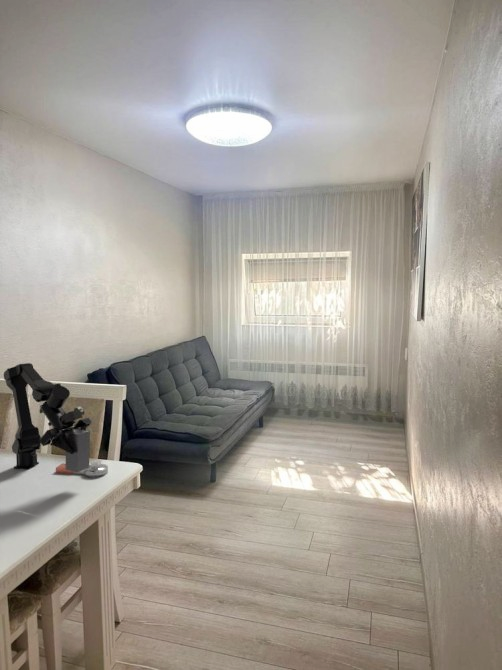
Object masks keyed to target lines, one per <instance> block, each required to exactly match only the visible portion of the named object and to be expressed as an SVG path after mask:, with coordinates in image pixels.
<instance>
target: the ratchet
mask: <svg viewBox="0 0 502 670" xmlns="http://www.w3.org/2000/svg"><path fill="white" fill-rule="evenodd" d="M65 467H66V463H64V462H63V463H61V464H59V465H58V466H56V467H55V473H58V474H71V475H73V474H75V475H83V476H84V477H86V478H91V479H92V478H94V479H95V478H101V477H104V476H106V475H107V474H108V472H109V469H108V468H109V467H108V465H107V464H104V463H102V460H99V459H95V460H92V461H91V462H90V464H89V468H87V469H84V470H82V471H80V472H74V471H69V470H65Z"/></svg>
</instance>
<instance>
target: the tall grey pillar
mask: <svg viewBox="0 0 502 670" xmlns="http://www.w3.org/2000/svg"><path fill="white" fill-rule="evenodd" d="M66 439H67V441H68V442H69V444H70V445H71V447H72V448H73V450H74V453H73V454H70V453H68V452H67V451H65V464H66V467H65V470H69V471H74V472H80V471H82V470H84V469H87V468H89V465H90V452H91V451H90V449H91V447H90V446H91V443H90V442H91V440H90V439H91V430H88V429H86V430H83V429H75V430H72V431H69V432H66Z"/></svg>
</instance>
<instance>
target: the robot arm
mask: <svg viewBox="0 0 502 670" xmlns="http://www.w3.org/2000/svg"><path fill="white" fill-rule="evenodd" d="M3 379H4V380H5V383H6V386H7V387H8V389H10V390H11V392H12V396H13V403H14V407H15V413H16V420H17V424H18V425H17V426H18V428H17V431H16V433H15V436H14V437H15V439H14V442H13V444H12V445H11V451H12V453H14V454H15V455H16V457H15V458H16V459H15V460H16V465H15V466H13V469H17V470H19V469H20V470H30V469H32V468H34V467H35V466H37V465H38V464H39V463H40V462H39V461H38V454H37V450H40V448H41V445H42V447H46V446H48V445H50V446H54V447H56V448H58V449H61V450H63V451H65V452H66V451H67V452H68V453H70V454H73V453H74V450H73V448H72V447H71V445H70V444H69V442H68V441H67V439H66V432H69V431H72V430H75V429H83V430H88V428H89V427H90V426H91V424H92V423H93V422H92V420H91V419H90V417H84V418H83V416H84V415H85V411H84V409H83V407H82V406H78V407H75V408H74V409H73V410H71V411H67V410H64V409H63V408H62V407H64V405H65V404H66V402H67V400H68V398H69V396H70V394H71V393H70V390H69V389H68V388H67V387H66V386H62V385H61V383H55V384H54V383H53V382H51V381H49V380H45V379H44V378H43V377H42V376H41V375H40V374H39V372H37V370H36V369H35V368H34V366H33V363H30V362H27V363H19V364H16V365H15V366H12V367H9V368H7V369H6V370H5V371H4V372H3ZM27 386H29V387H30V389H32V392H31V396H32V399H33V400H34V401H36V403H42V404H41V405H40V406H39V407H40V409H39V413H40V414H44V416H45V417H46V419H47V420H48V423H47V425H48V426H49V427H51V426H52V427H53V428H50V429H47V430H46V431H44V434H42V436H41V435H40V430H39V427H38V426H34V424H33V420H32V416H31V410H30V405H29V397H28V393H27ZM77 420H78V421H77Z"/></svg>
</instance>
